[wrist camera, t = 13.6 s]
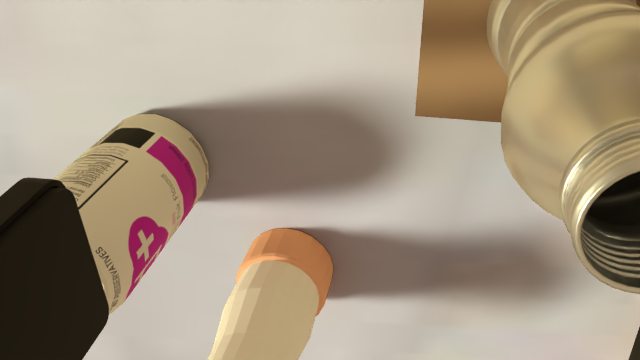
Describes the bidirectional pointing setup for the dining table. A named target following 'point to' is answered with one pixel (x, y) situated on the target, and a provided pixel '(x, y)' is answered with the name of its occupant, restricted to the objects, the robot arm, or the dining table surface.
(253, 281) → the pepper shaker
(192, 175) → the supplement can
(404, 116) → the dining table surface
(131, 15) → the dining table surface
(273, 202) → the dining table surface
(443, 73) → the walnut block
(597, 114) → the plastic bottle
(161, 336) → the dining table surface
